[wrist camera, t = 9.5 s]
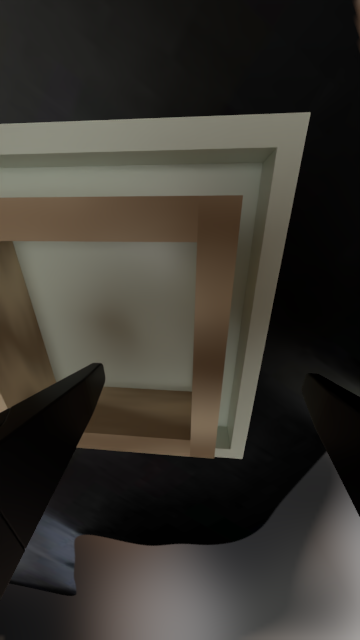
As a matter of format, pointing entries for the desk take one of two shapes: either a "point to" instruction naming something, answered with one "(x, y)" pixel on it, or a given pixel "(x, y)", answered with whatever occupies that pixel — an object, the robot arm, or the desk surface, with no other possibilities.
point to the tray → (156, 246)
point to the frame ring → (209, 322)
